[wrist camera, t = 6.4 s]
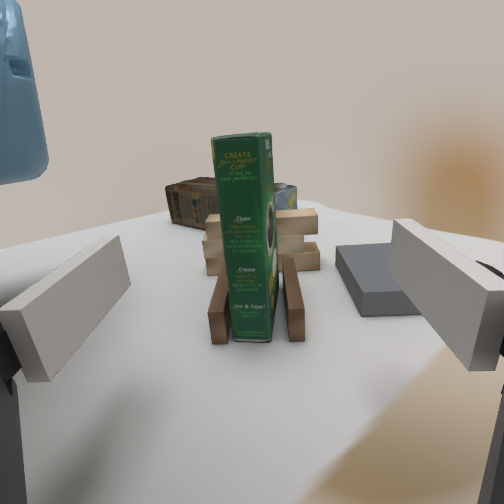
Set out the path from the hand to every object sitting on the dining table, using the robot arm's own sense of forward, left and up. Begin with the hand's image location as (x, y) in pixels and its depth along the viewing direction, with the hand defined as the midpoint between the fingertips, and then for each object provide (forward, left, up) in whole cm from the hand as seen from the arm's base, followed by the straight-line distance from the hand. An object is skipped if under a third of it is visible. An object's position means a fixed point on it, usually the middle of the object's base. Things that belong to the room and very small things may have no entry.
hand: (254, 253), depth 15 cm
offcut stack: (0, +15, -8) cm, 17 cm away
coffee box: (0, +7, -8) cm, 11 cm away
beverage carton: (-5, +30, -8) cm, 32 cm away
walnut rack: (0, +7, -8) cm, 10 cm away
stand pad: (+12, +10, -8) cm, 17 cm away
